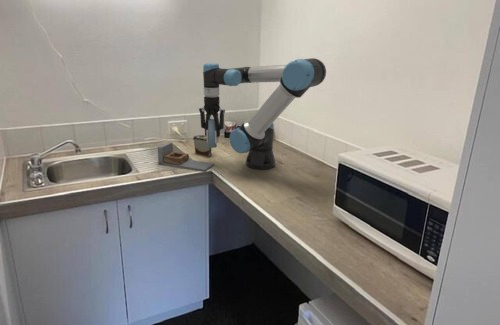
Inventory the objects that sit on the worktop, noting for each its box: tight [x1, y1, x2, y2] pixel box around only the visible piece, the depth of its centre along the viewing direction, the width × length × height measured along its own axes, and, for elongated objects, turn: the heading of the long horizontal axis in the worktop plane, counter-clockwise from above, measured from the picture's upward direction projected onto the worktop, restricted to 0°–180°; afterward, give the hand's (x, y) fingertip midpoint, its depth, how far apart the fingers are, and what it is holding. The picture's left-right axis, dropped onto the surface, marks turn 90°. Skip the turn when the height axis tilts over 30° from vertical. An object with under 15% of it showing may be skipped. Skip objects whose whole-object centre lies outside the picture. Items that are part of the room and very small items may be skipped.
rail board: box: [157, 141, 215, 173], centre depth 189 cm, size 10×26×9 cm, turn 70°
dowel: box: [208, 118, 218, 149], centre depth 190 cm, size 4×4×14 cm
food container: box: [192, 134, 213, 158], centre depth 206 cm, size 12×6×10 cm, turn 58°
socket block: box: [164, 151, 190, 165], centre depth 191 cm, size 9×9×3 cm
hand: (212, 142), depth 192 cm, fingers closed on dowel, 4 cm apart
